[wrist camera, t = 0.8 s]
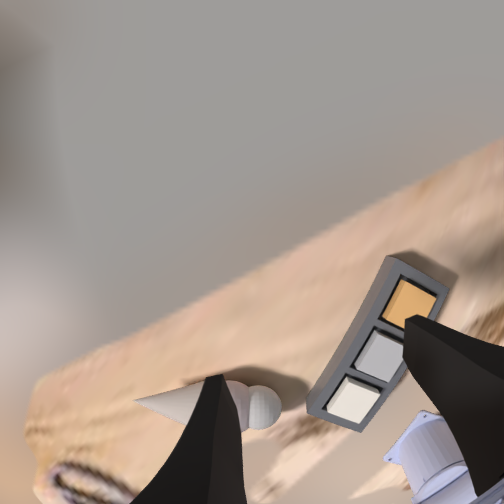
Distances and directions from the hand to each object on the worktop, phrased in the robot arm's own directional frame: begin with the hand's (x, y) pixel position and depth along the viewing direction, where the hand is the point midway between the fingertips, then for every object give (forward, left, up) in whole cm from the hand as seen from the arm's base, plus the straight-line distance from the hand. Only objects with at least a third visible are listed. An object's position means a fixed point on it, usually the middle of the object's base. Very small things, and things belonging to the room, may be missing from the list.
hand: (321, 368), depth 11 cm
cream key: (-9, +7, -15) cm, 19 cm away
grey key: (-9, +2, -15) cm, 18 cm away
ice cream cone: (+3, +15, -18) cm, 23 cm away
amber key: (-9, -3, -15) cm, 18 cm away
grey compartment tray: (-9, +2, -18) cm, 20 cm away
